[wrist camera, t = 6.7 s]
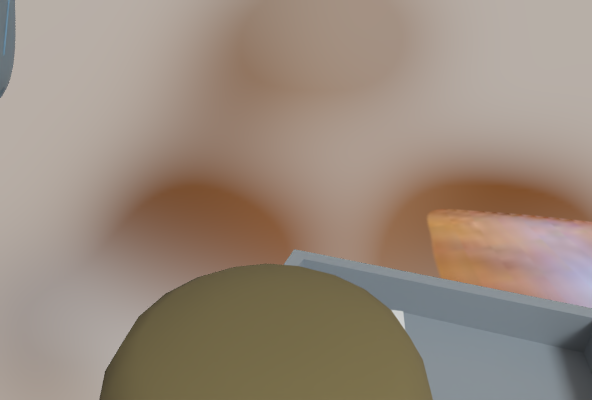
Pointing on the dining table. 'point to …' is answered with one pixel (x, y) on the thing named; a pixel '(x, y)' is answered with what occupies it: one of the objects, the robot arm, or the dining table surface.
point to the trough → (480, 334)
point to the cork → (267, 342)
